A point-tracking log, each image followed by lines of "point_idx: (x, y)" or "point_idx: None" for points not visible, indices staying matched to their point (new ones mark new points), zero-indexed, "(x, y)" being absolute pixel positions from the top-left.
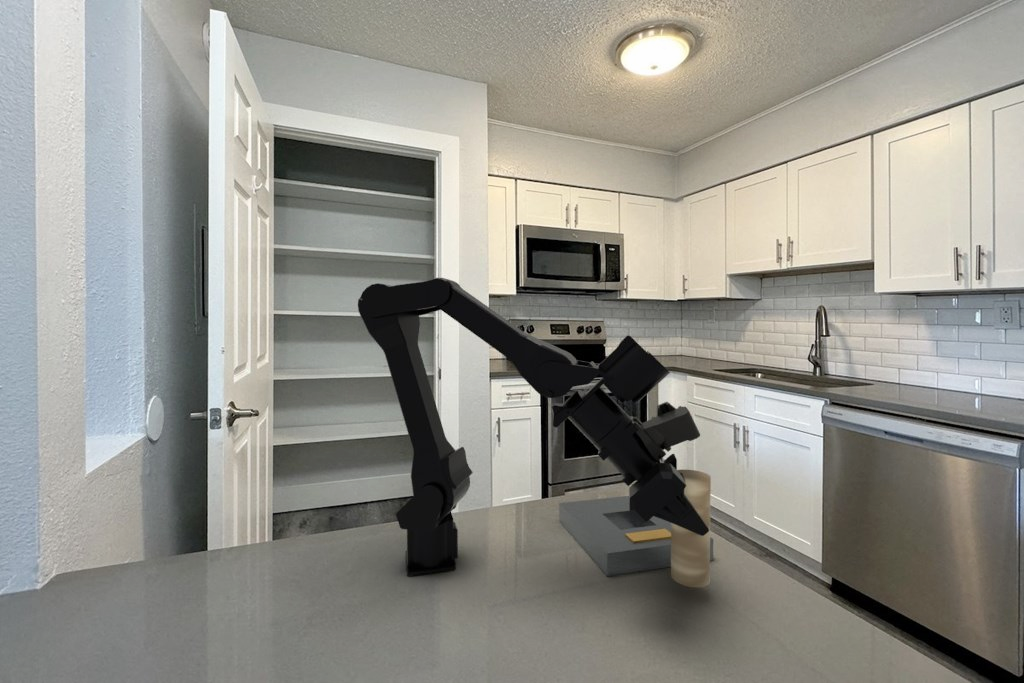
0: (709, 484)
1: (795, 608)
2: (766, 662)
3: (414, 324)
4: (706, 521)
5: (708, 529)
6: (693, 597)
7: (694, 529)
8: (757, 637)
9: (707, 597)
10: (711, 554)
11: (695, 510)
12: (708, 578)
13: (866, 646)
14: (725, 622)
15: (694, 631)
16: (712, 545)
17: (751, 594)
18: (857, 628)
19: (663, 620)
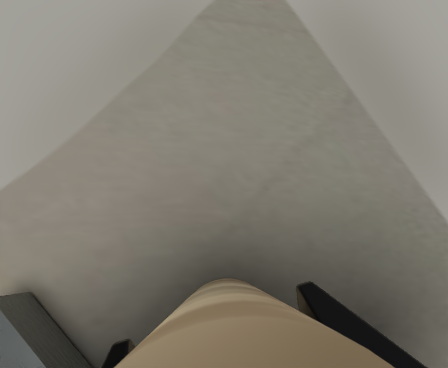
0: (285, 313)
1: (171, 118)
2: (373, 164)
3: None
4: (277, 299)
5: (312, 283)
6: None
7: None
8: (310, 179)
9: None
10: (23, 297)
11: (400, 363)
12: (239, 280)
13: (237, 28)
14: (294, 236)
15: (360, 289)
16: (5, 297)
17: (156, 195)
18: (188, 33)
19: None
